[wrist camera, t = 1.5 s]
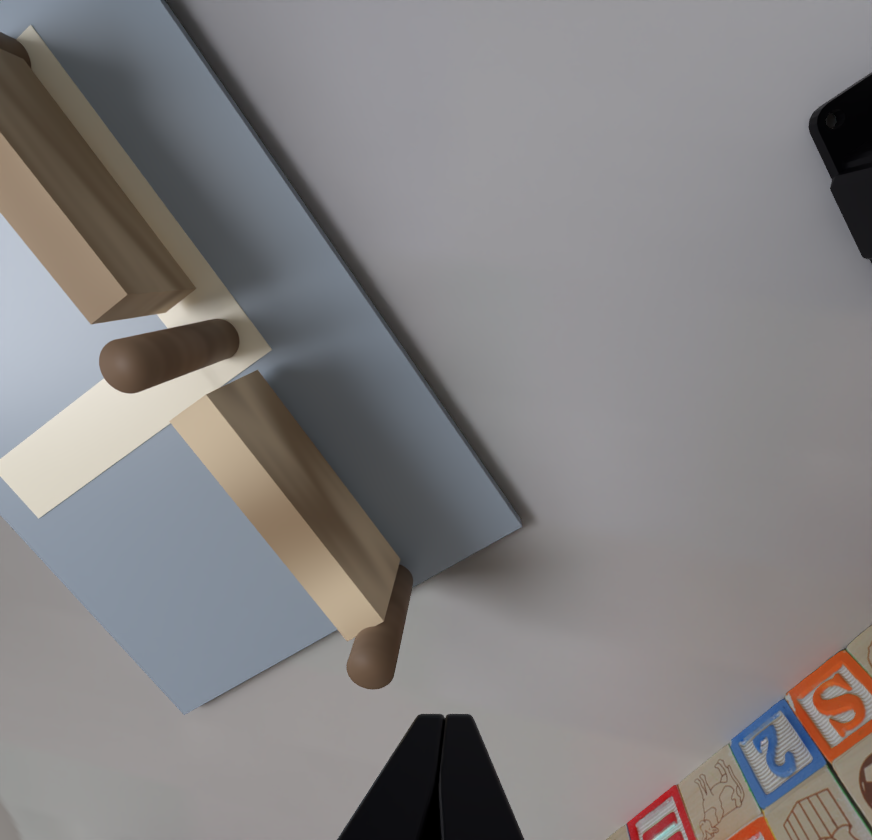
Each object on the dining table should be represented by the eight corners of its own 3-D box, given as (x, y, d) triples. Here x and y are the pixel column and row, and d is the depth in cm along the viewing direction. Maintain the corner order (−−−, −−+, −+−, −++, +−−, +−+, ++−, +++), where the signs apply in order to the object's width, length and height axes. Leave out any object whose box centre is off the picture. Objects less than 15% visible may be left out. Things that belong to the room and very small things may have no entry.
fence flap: (226, 391, 19) (148, 431, 14) (257, 369, 18) (187, 403, 14) (390, 602, 20) (365, 696, 16) (420, 585, 20) (404, 676, 16)
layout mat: (107, -84, 16) (92, -98, 15) (520, 519, 20) (522, 527, 20) (-218, 255, 20) (-241, 254, 19) (191, 704, 24) (183, 715, 23)
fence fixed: (24, 34, 17) (-195, -77, 11) (255, 342, 19) (163, 374, 14) (-4, 63, 17) (-232, -31, 12) (226, 363, 19) (124, 403, 14)
